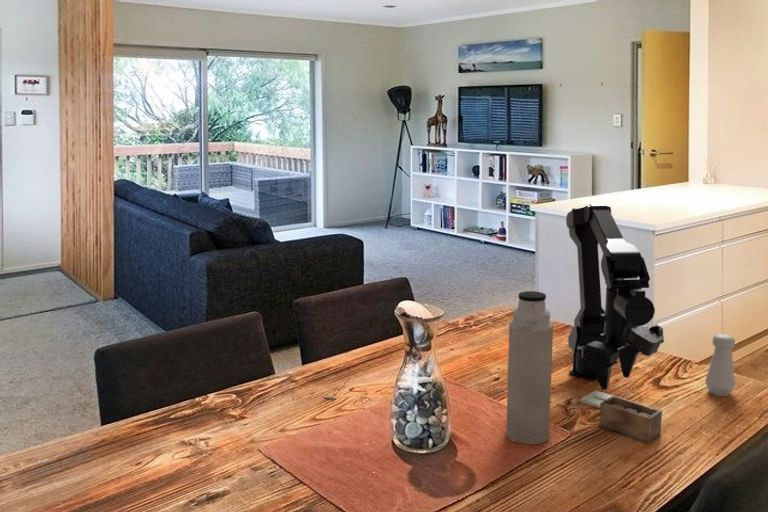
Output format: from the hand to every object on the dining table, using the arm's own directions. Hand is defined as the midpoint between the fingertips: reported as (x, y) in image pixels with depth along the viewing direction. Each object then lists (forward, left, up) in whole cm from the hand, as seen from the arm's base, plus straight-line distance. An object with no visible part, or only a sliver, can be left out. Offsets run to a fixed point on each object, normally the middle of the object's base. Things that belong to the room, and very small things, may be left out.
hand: (615, 383), depth 144 cm
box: (+8, -9, -5) cm, 13 cm away
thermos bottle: (-5, -24, -5) cm, 25 cm away
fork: (-48, -35, -6) cm, 60 cm away
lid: (0, 0, -6) cm, 6 cm away
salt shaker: (+13, +22, -5) cm, 26 cm away
